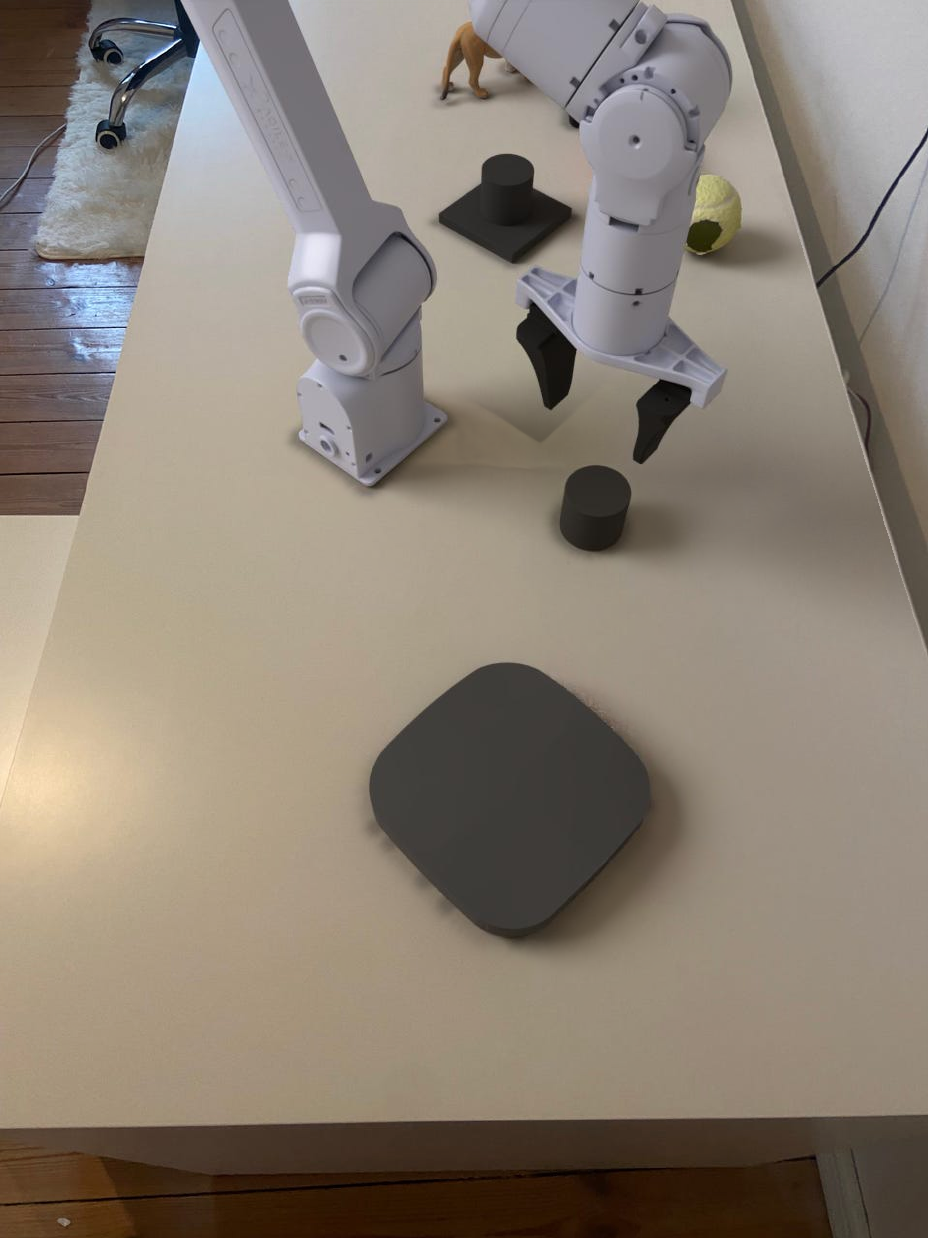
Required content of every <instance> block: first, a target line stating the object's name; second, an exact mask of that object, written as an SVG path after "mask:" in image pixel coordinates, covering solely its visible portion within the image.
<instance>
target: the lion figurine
mask: <svg viewBox="0 0 928 1238" xmlns="http://www.w3.org/2000/svg"><path fill="white" fill-rule="evenodd" d="M485 57H486V58H489V59H494V60H495V59H499V60H501V59H504V58H503V57H502V56H501V55H500V54H499V53H497V52H496V51H495V50H494V49H493V48H492V47H491V46H489V45H488V44H487V43H486V42H485V41H484V40H482V39H481V38H480V37H479V36H478V35H477V34H476V33H475V32H474V29H473V26H472V21H468V22H466V23H464V24H462V25H461V26H459V27H458V29H457V30H456V31H455V33H454V36H453V38H452V40H451V43H450V46H449V48H448V52H447V56H446V63H445V65H444V66H443V69H442V73H441V75H442V76H441V77H442V78H441V88H442V89H443V90H442V92H441V95H440V97H439V101H444V100H447V97H448V94H449V91H452V90H454V87H455V86H454V85H455V84H454V82H453V81H450V80H451V75H452V73H453V72H454V71H455V70H456V69H457V67H459V65H461V64H462V63H463V61H465V63H466V65H467V68H468V73H469V78H468V85H469V87H470V88H471V90H472V91H473V92H474V94H475V95H476V97H478V98H480V99H485V98H488V96H489V92H488V91H489V90H488V89H487V88H485V87H481V85H480V83H479V79H480V75H481V73H482V69H483V66H484V64H485ZM504 69H505V71H507V72H508V73H513V72H515V71H516V70H517V69H516V68H515V67H514V66H513V65H511V64H510V63H509V62H508V61H507V60H506V59H505V62H504ZM520 74H521V77H522V79H523V81H525V82H529V83H530V82H531V81H530V80H529V79H528V78H526V77H525V76H524V75H523V74H522V73H521V72H520ZM531 83H532V82H531Z"/></svg>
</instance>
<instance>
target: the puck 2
mask: <svg viewBox="0 0 928 1238" xmlns="http://www.w3.org/2000/svg"><path fill="white" fill-rule="evenodd" d="M631 500H632V488H631V485H630V483H629V481H628V479H627V478H626V477H625V476H624V475H623V474H622V473H621V472H619V471H618V470H616V469H615V468H612V467H609V466H607V465H606V466H605V465H602V464H601V465H600V464H591V465H590V464H589V465H586V466H585V465H584V466H582V467H580V468H577V469H575V470H574V471H573V472H572V473H571V474H570V475H569V476H568V478H567V479H566V481H565V485H564V490H563V496H562V502H561V510H560V516H559V522H558V524H559V530H560V532H561V535H562V536H563V538H564V539H565V541H567V543H570V545H571V546H573V547H575V548H577V549H579V550H582V551H587V552H601V551H603V550H606V549H609V548H611V547H613V546H614V545H615V544H617V543H618V541H619V540H620V539H621V537H622V535H623V532H624V527H625V523H626V519H627V516H628V511H629V508H630V504H631Z"/></svg>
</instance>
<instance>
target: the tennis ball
mask: <svg viewBox="0 0 928 1238" xmlns="http://www.w3.org/2000/svg"><path fill="white" fill-rule="evenodd" d="M696 192H697V194H696V203H695V207H694V211H693V215H692V219H691V224H690V228H689V232H688V236H687V241H686V245H685V249H684V250H685V251H688V252H689V253H695V254H696V255H700V256H703V255H705V254H708V253H712V252H714V251H716V250H719V249H721V248H723V247H724V246H725V245H727V244H728V243H729V242H730V241H731V240H732V239H733V238H734V237H735V236H736V234H737V232H738V230H740V229H741V228H742V224H741V222H742V211H743V207H742V202H741V201H742V200H741V199H742V198H741V197H740V194H739V192H738V191H737V189H736V188H735V187H734V185H733V184H732V183H731V182H729V181H728V180H727V179H725V178H723V177H721V176H719V175H716V174H702V175H701V174H700V179H699V182H698V185H697V187H696Z"/></svg>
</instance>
